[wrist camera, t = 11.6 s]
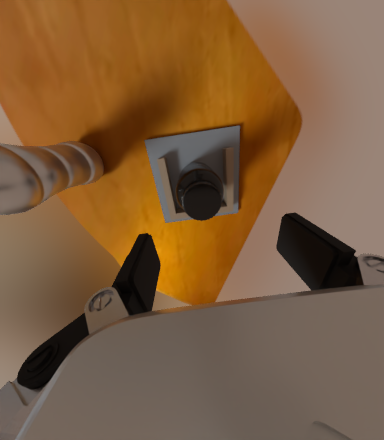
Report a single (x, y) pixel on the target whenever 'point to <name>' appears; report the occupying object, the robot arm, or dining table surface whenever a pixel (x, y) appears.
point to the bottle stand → (195, 152)
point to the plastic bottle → (43, 173)
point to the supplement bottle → (199, 191)
